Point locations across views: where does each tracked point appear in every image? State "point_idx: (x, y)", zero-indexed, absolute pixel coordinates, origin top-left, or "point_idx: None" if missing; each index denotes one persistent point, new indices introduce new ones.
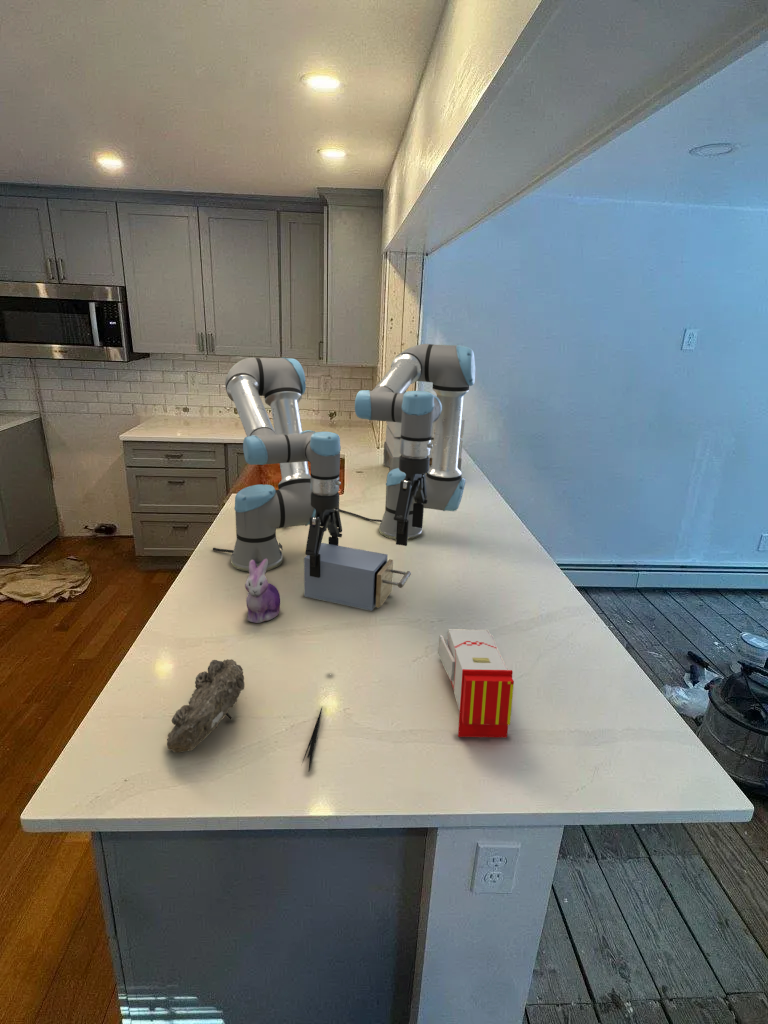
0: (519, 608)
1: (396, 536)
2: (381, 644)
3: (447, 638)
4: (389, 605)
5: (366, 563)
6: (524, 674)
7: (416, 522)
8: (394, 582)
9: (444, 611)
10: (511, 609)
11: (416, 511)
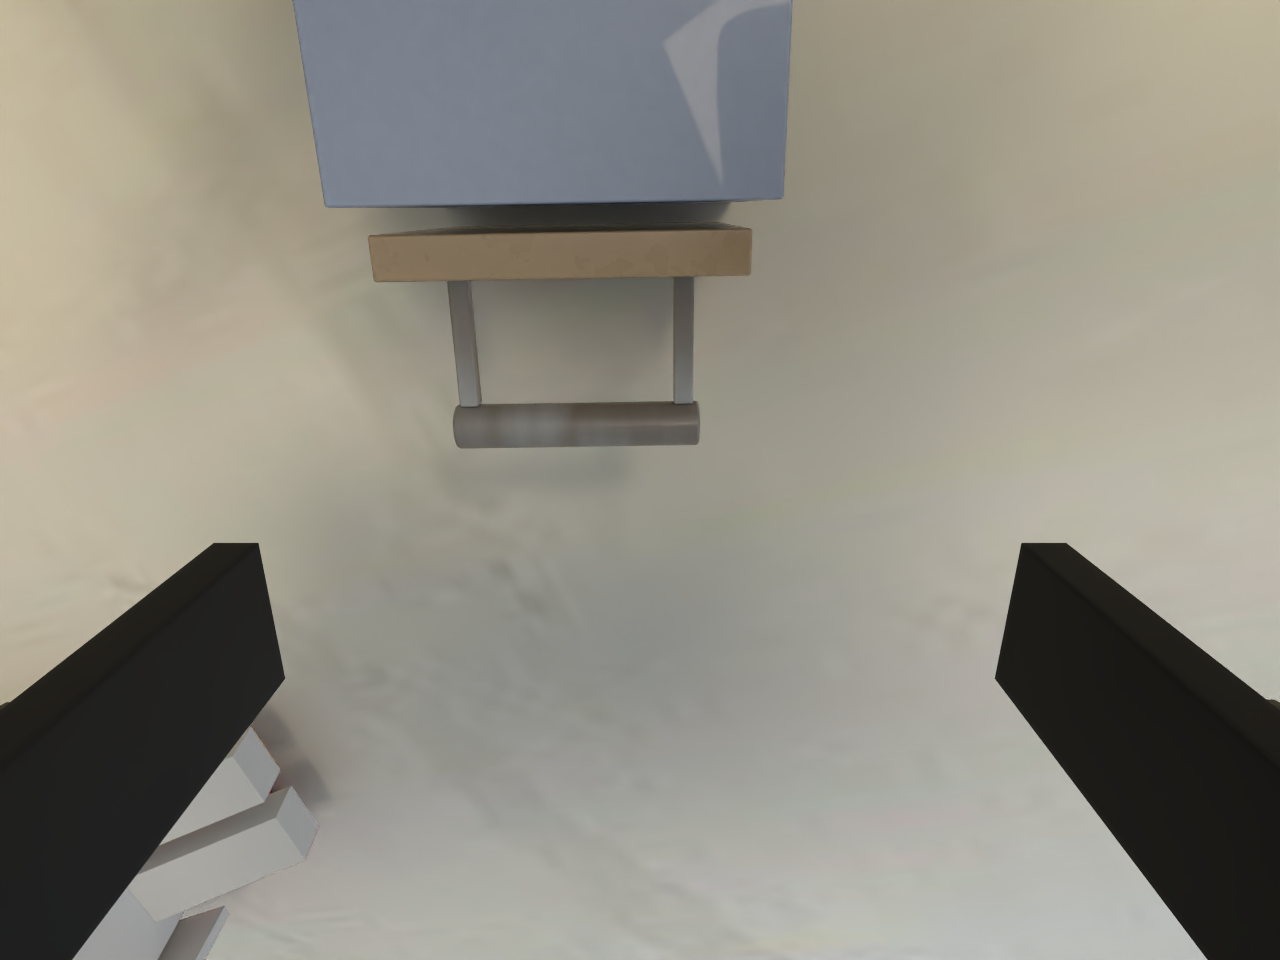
0: (814, 888)
1: (133, 609)
2: (143, 395)
3: (246, 731)
4: (565, 291)
5: (451, 53)
6: (301, 946)
7: (1048, 649)
8: (465, 377)
9: (637, 600)
10: (791, 861)
11: (1196, 782)
